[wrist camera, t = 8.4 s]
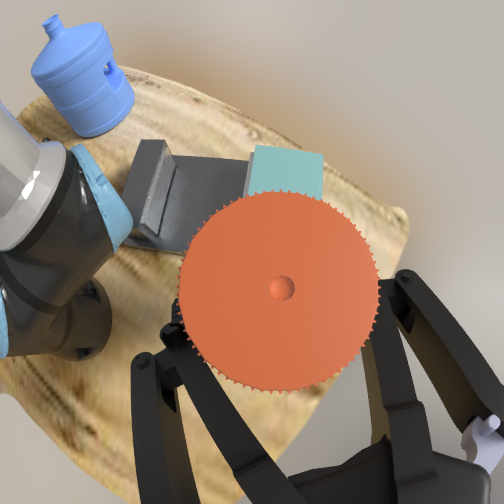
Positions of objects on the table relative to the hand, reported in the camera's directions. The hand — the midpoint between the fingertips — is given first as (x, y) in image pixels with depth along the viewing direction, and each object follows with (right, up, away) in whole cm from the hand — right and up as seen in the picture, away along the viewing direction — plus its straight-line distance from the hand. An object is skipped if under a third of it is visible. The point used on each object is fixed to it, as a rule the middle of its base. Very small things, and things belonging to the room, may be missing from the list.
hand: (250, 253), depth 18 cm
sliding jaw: (+4, +6, +22) cm, 23 cm away
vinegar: (+1, -5, +8) cm, 9 cm away
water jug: (-32, +31, +31) cm, 54 cm away
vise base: (-5, +7, +25) cm, 26 cm away
